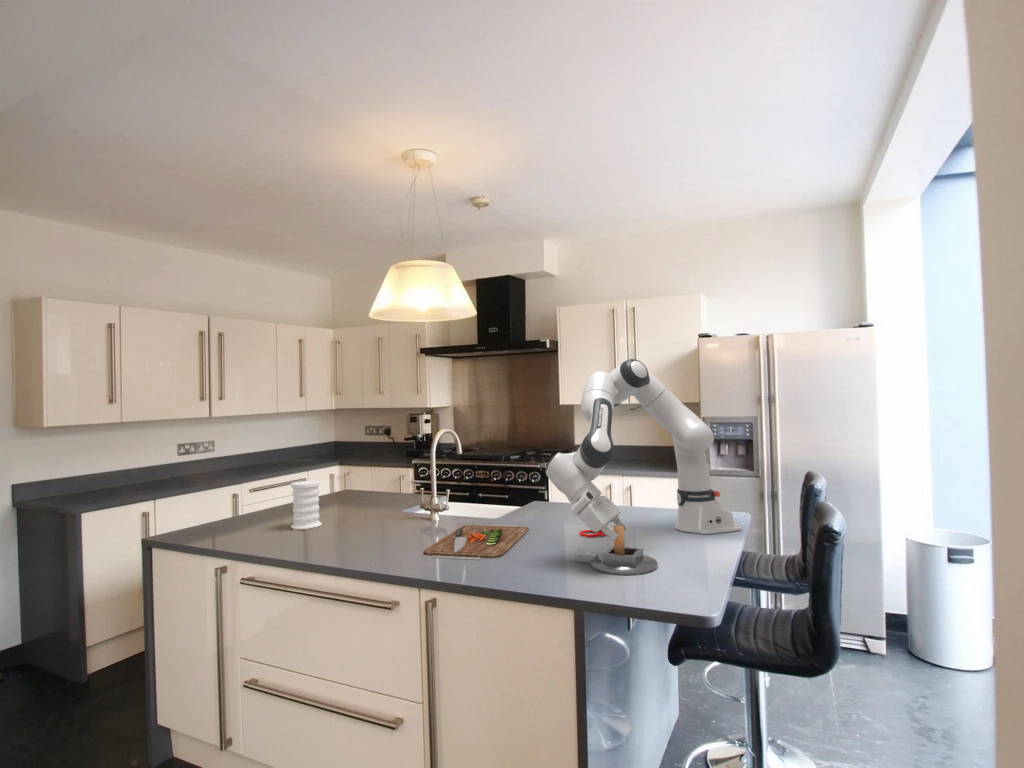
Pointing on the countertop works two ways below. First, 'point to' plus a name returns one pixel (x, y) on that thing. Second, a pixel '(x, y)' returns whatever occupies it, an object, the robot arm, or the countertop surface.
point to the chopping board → (477, 542)
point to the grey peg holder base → (619, 561)
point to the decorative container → (306, 504)
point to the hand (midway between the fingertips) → (620, 534)
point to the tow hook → (599, 533)
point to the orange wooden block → (619, 541)
